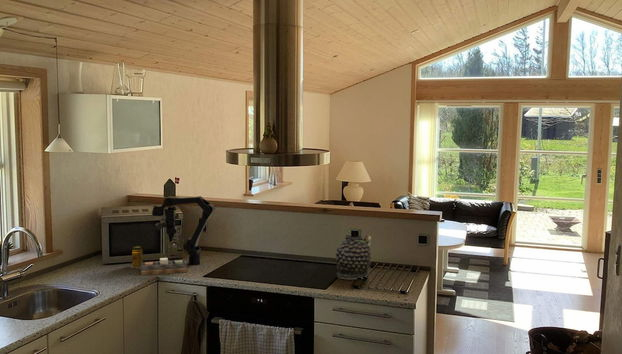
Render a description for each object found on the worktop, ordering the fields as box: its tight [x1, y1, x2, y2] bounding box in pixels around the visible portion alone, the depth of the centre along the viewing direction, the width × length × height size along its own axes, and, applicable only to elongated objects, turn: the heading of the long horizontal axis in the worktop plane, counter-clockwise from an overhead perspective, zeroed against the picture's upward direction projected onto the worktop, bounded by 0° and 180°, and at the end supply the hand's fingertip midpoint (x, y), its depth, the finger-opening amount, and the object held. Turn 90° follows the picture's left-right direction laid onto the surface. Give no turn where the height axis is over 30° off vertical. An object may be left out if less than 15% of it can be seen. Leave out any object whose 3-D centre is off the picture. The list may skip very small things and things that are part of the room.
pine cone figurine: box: [335, 234, 372, 280], centre depth 332 cm, size 21×15×25 cm
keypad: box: [140, 259, 189, 276], centre depth 343 cm, size 26×14×4 cm, turn 108°
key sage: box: [174, 259, 183, 264], centre depth 346 cm, size 4×4×3 cm
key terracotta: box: [144, 261, 154, 266], centre depth 340 cm, size 4×4×3 cm
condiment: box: [130, 245, 144, 269], centre depth 352 cm, size 7×8×12 cm
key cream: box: [159, 257, 169, 265], centre depth 343 cm, size 4×4×3 cm
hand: (170, 242), depth 361 cm, fingers closed
